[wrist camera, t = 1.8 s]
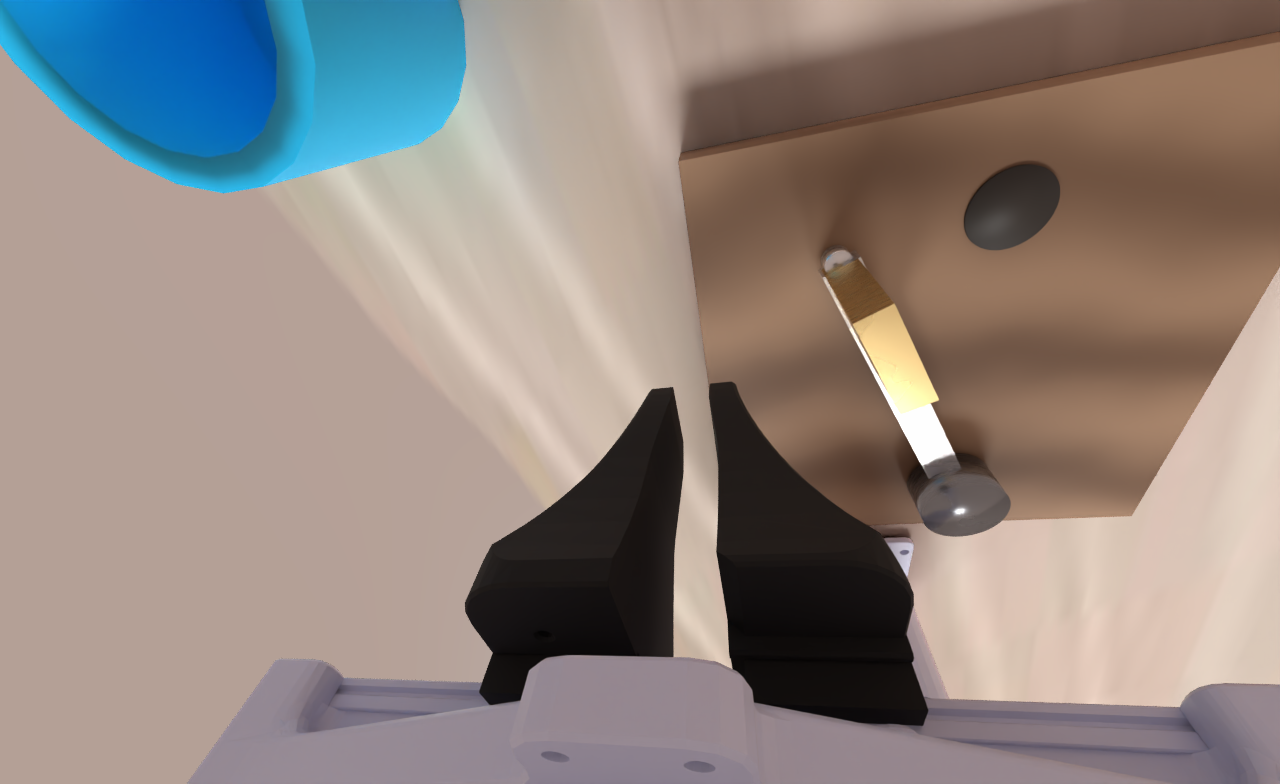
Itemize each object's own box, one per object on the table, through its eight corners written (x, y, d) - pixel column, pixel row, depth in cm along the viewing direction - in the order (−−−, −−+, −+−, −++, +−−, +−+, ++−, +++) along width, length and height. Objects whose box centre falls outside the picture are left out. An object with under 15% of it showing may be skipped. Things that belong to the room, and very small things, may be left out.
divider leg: (996, 489, 23) (1057, 576, 19) (920, 512, 24) (962, 597, 20) (878, 218, 16) (933, 266, 12) (784, 273, 18) (806, 330, 14)
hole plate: (1103, 486, 25) (1133, 517, 23) (727, 503, 29) (728, 531, 27) (1345, 18, 14) (1436, 11, 12) (680, 152, 18) (678, 161, 16)
